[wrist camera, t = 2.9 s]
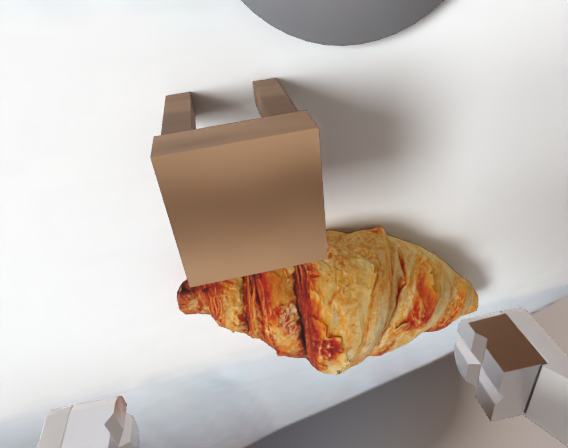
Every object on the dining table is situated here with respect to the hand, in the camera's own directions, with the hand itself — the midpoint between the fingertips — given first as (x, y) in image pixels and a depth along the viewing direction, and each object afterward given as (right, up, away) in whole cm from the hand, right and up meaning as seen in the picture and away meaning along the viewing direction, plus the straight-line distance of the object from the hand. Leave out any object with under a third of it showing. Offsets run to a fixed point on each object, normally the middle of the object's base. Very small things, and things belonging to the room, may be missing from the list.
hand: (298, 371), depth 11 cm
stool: (-3, +8, +13) cm, 16 cm away
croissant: (+3, 0, +20) cm, 21 cm away
